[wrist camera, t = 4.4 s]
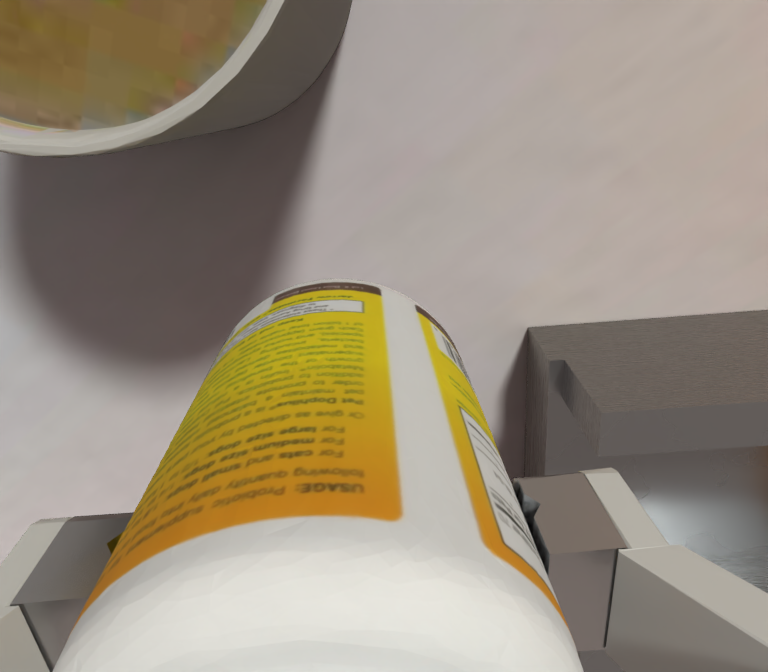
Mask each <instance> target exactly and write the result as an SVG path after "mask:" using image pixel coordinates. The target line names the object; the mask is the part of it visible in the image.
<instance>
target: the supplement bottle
mask: <svg viewBox="0 0 768 672" xmlns="http://www.w3.org/2000/svg"><path fill="white" fill-rule="evenodd" d="M53 672H584V671H583V668H582V665H581V662H580V659H579V657H578V653H577V650H576V646H575V643H574V641H573V638H572V636H571V633H570V630H569V628H568V625H567V623H566V621H565V618H564V616H563V614H562V611H561V609H560V606H559V603H558V601H557V598H556V596H555V593H554V591H553V588H552V586H551V583H550V581H549V578H548V575H547V573H546V570H545V568H544V565H543V562H542V560H541V558H540V556H539V553H538V551H537V548H536V546H535V543H534V540H533V538H532V535H531V533H530V530H529V528H528V525H527V523H526V520H525V518H524V515H523V513H522V510H521V508H520V505H519V503H518V500H517V497H516V495H515V492H514V489H513V486H512V483H511V481H510V479H509V477H508V475H507V472H506V469H505V467H504V464H503V462H502V459H501V457H500V454H499V451H498V449H497V446H496V444H495V442H494V439H493V436H492V433H491V431H490V429H489V427H488V424H487V422H486V419H485V417H484V414H483V411H482V409H481V407H480V404H479V402H478V399H477V396H476V393H475V391H474V389H473V387H472V385H471V382H470V379H469V377H468V374H467V372H466V370H465V367H464V365H463V363H462V360H461V358H460V356H459V353H458V351H457V349H456V347H455V345H454V343H453V342H452V340H451V338H450V336H449V335H448V334H447V332H446V331H445V330H444V328H443V327H442V326H441V324H440V323H439V322H438V321H437V320H436V319H435V318H434V317H433V316H432V315H431V314H430V313H429V312H428V311H427V310H426V309H424V308H423V307H422V306H421V305H419V304H418V303H416V302H415V301H414V300H412V299H410V298H409V297H407V296H405V295H403V294H401V293H399V292H397V291H395V290H393V289H390V288H388V287H385V286H382V285H379V284H375V283H371V282H367V281H361V280H353V279H325V280H316V281H311V282H306V283H302V284H298V285H295V286H292V287H289V288H287V289H285V290H282V291H280V292H278V293H276V294H274V295H272V296H271V297H269V298H267V299H266V300H264V301H263V302H261V303H260V304H258V305H257V306H256V307H255V308H253V309H252V310H251V311H250V312H249V313H248V314H247V315H246V316H245V317H244V318H243V319H242V320H241V321H240V322H239V323H238V324H237V325H236V327H235V328H234V329H233V331H232V332H231V334H230V335H229V337H228V338H227V340H226V341H225V343H224V345H223V346H222V348H221V350H220V352H219V354H218V356H217V358H216V359H215V361H214V363H213V365H212V367H211V368H210V370H209V372H208V374H207V376H206V378H205V380H204V382H203V384H202V386H201V388H200V389H199V391H198V393H197V395H196V397H195V399H194V401H193V403H192V405H191V406H190V408H189V410H188V412H187V414H186V416H185V417H184V419H183V421H182V423H181V425H180V427H179V429H178V431H177V433H176V434H175V436H174V438H173V440H172V441H171V443H170V446H169V448H168V450H167V451H166V453H165V455H164V457H163V459H162V460H161V462H160V465H159V467H158V469H157V471H156V473H155V474H154V476H153V478H152V480H151V481H150V483H149V485H148V487H147V489H146V491H145V493H144V495H143V497H142V499H141V501H140V502H139V504H138V506H137V507H136V509H135V512H134V514H133V516H132V518H131V519H130V521H129V523H128V525H127V527H126V529H125V530H124V532H123V533H122V535H121V537H120V539H119V541H118V544H117V546H116V547H115V549H114V551H113V553H112V555H111V557H110V559H109V561H108V563H107V565H106V567H105V568H104V570H103V572H102V574H101V576H100V578H99V580H98V582H97V583H96V585H95V587H94V589H93V591H92V593H91V595H90V596H89V598H88V600H87V602H86V604H85V606H84V608H83V610H82V612H81V613H80V615H79V617H78V619H77V621H76V623H75V625H74V627H73V629H72V631H71V633H70V635H69V637H68V640H67V642H66V644H65V647H64V649H63V651H62V653H61V655H60V657H59V659H58V661H57V663H56V665H55V667H54V669H53Z"/></svg>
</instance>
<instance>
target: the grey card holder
mask: <svg viewBox="0 0 768 672" xmlns="http://www.w3.org/2000/svg"><path fill="white" fill-rule="evenodd" d="M602 468H613V469H615V470H617V471H618V472H619V474H620V475H621V477H622V478H623V480H624V481H625V482H626V484H627V485H628V487H629V488H630V490H631V491H632V492H633V494H634V495H635V497H636V498H637V500H638V501H639V502H640V504H641V505H642V507H643V508H644V509H645V511H646V512H647V514H648V515H649V517H650V518H651V519H652V521H653V522H654V524H655V525H656V527H657V528H658V529H659V531H660V532H661V534H662V535H663V536H664V538H665V539H666V541H667V542H668V544H669V545H678V544H680V545H682V546H684V547H686V548H688V549H689V550H691V551H693V552H695V553H697V554H698V555H700V556H702V557H704V558H705V559H707V560H709V561H711V562H713V563H714V564H716V565H718V566H720V567H721V568H723V569H725V570H727V571H729V572H730V573H732V574H734V575H736V576H738V577H739V578H741V579H743V580H745V581H746V582H748V583H750V584H752V585H754V586H755V587H757V588H759V589H761V590H762V591H764V592H766V593H768V310H761V311H747V312H734V313H720V314H707V315H693V316H679V317H666V318H652V319H639V320H625V321H611V322H598V323H584V324H570V325H557V326H543V327H530V328H528V357H527V396H526V434H525V472H524V477H533V476H543V475H554V474H564V473H574V472H579V471H585V470H594V469H602ZM577 653H578V657H579V659H580V662H581V665H582V668H583V671H584V672H625V671H624V670H623V669H622V668H621V667H619V666H618V665H617V664H616V663H615V662H614V661H613V660H612V659H611V658H610V657H609V656H608V655H607V654H606V653H605V650H591V651H577Z"/></svg>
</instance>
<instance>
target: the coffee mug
mask: <svg viewBox="0 0 768 672" xmlns="http://www.w3.org/2000/svg"><path fill="white" fill-rule="evenodd" d="M351 3H352V0H0V152H6V153H11V154H16V155H26V156H42V157H57V158H66V157H78V156H89V155H101V154H110V153H115V152H120V151H124V150H129V149H134V148H139V147H144V146H149V145H154V144H159V143H164V142H169V141H173V140H178V139H183V138H188V137H193V136H198V135H203V134H208V133H213V132H218V131H222V130H227V129H232V128H237V127H242V126H245V125H249V124H252V123H255V122H258V121H261V120H263V119H266V118H268V117H270V116H272V115H274V114H276V113H277V112H279V111H281V110H282V109H284V108H285V107H287V106H289V105H290V104H291V103H292V102H294V101H295V100H296V99H298V98H299V97H300V96H301V95H302V94H303V93H304V92H305V91H306V90H307V89H308V88H309V87H310V86H311V85H312V84H313V83H314V82H315V80H316V79H317V78H318V77H319V75H320V74H321V73H322V71H323V70H324V68H325V67H326V65H327V64H328V62H329V60H330V59H331V57H332V55H333V53H334V52H335V50H336V48H337V46H338V43H339V41H340V39H341V37H342V34H343V31H344V29H345V26H346V23H347V19H348V16H349V12H350V8H351Z"/></svg>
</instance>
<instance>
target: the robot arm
mask: <svg viewBox="0 0 768 672" xmlns="http://www.w3.org/2000/svg"><path fill="white" fill-rule="evenodd" d="M512 486H513V489H514V492H515V495H516V497H517V500H518V503H519V505H520V508H521V510H522V513H523V515H524V518H525V520H526V523H527V525H528V528H529V530H530V533H531V535H532V538H533V540H534V543H535V546H536V548H537V551H538V553H539V556H540V558H541V560H542V562H543V565H544V568H545V570H546V573H547V575H548V578H549V581H550V583H551V586H552V588H553V591H554V593H555V596H556V598H557V601H558V603H559V606H560V609H561V611H562V614H563V616H564V618H565V621H566V623H567V625H568V628H569V630H570V633H571V636H572V638H573V641H574V643H575V646H576V650H577V651H591V650H605V653H606V654H607V655H608V656H609V657H610V658H611V659H612V660H613V661H614V662H615V663H616V664H617V665H618V666H619V667H621V668H622V669H623V670H624V671H625V672H768V593H766V592H764V591H762V590H761V589H759V588H757V587H755V586H754V585H752V584H750V583H748V582H746V581H745V580H743V579H741V578H739V577H738V576H736V575H734V574H732V573H730V572H729V571H727V570H725V569H723V568H721V567H720V566H718V565H716V564H714V563H713V562H711V561H709V560H707V559H705V558H704V557H702V556H700V555H698V554H697V553H695V552H693V551H691V550H689V549H688V548H686V547H684V546H682V545H680V544H678V545H669V544H668V542H667V541H666V539H665V538H664V536H663V535H662V534H661V532H660V531H659V529H658V528H657V527H656V525H655V524H654V522H653V521H652V519H651V518H650V517H649V515H648V514H647V512H646V511H645V509H644V508H643V507H642V505H641V504H640V502H639V501H638V500H637V498H636V497H635V495H634V494H633V492H632V491H631V490H630V488H629V487H628V485H627V484H626V482H625V481H624V480H623V478H622V477H621V475H620V474H619V472H618V471H617V470H615V469H613V468H602V469H594V470H585V471H579V472H574V473H564V474H554V475H543V476H533V477H523V478H514V479H513V483H512ZM133 514H134V512H133V513H118V514H104V515H89V516H75V517H67V518H53V519H41V520H39V521H37V522H35V523H33V524H31V525H30V527H29V528H28V529H27V531H26V532H25V533H24V535H23V536H22V537H21V539H20V540H19V541H18V543H17V544H16V545H15V547H14V548H13V549H12V551H11V552H10V553H9V555H8V556H7V557H6V559H5V560H4V561H3V563H2V564H1V565H0V672H53V669H54V667H55V665H56V663H57V661H58V659H59V657H60V655H61V653H62V651H63V649H64V647H65V644H66V642H67V640H68V637H69V635H70V633H71V631H72V629H73V627H74V625H75V623H76V621H77V619H78V617H79V615H80V613H81V612H82V610H83V608H84V606H85V604H86V602H87V600H88V598H89V596H90V595H91V593H92V591H93V589H94V587H95V585H96V583H97V582H98V580H99V578H100V576H101V574H102V572H103V570H104V568H105V567H106V565H107V563H108V561H109V559H110V557H111V555H112V553H113V551H114V549H115V547H116V546H117V544H118V541H119V539H120V537H121V535H122V533H123V532H124V530H125V529H126V527H127V525H128V523H129V521H130V519H131V518H132V516H133Z"/></svg>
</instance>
